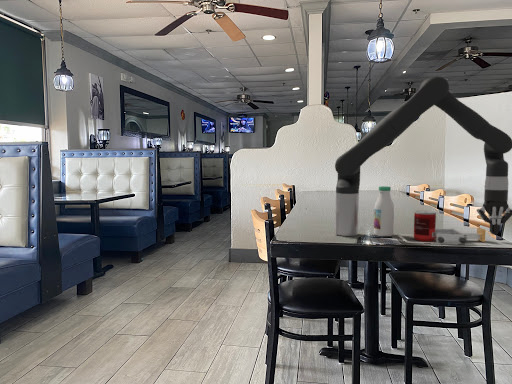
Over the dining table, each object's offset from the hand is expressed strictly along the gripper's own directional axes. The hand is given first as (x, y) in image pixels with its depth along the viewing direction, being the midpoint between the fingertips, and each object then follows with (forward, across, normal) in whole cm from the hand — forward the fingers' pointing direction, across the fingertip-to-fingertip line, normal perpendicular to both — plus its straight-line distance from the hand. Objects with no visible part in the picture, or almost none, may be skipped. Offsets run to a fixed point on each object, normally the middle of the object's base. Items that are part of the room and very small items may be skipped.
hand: (494, 234), depth 147 cm
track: (+3, -19, 0) cm, 19 cm away
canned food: (+3, -25, 0) cm, 25 cm away
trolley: (+3, -14, 0) cm, 14 cm away
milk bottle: (+3, -39, +8) cm, 40 cm away
